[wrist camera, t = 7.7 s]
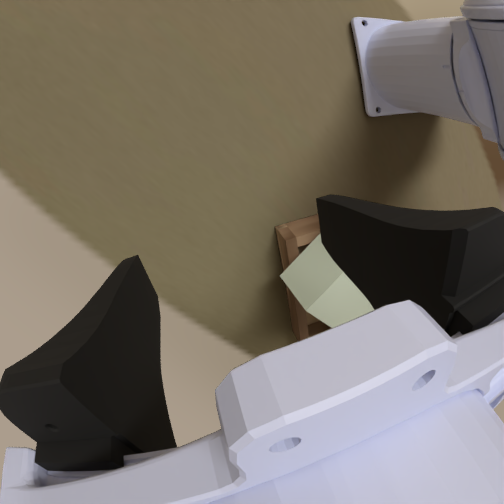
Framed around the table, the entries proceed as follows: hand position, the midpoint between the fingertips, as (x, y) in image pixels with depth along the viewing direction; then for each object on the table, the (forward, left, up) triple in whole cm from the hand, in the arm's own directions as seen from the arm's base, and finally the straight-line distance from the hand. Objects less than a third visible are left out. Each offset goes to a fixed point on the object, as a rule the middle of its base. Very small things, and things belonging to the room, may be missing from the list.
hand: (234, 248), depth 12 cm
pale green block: (-7, +9, -8) cm, 14 cm away
